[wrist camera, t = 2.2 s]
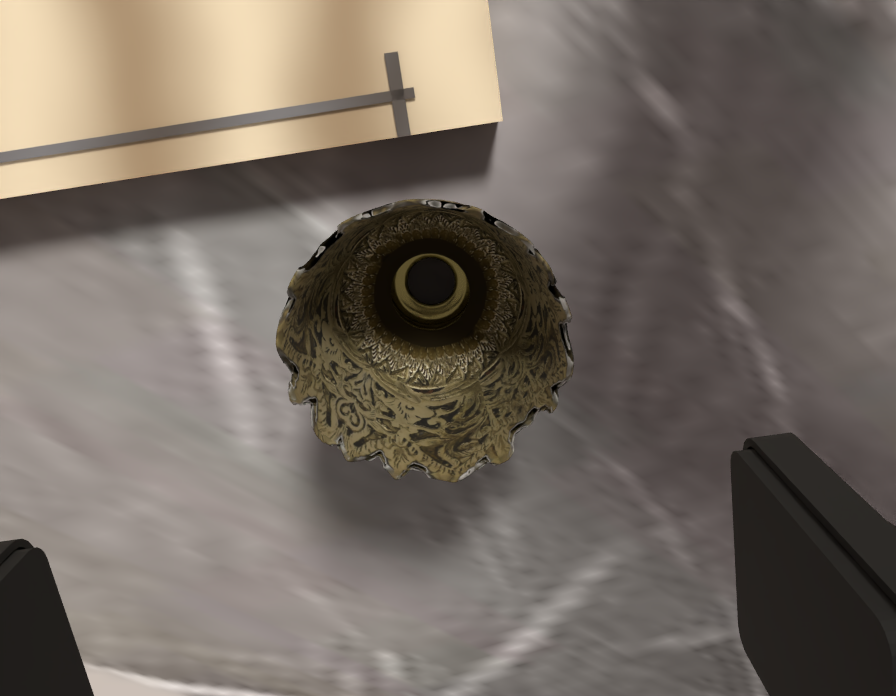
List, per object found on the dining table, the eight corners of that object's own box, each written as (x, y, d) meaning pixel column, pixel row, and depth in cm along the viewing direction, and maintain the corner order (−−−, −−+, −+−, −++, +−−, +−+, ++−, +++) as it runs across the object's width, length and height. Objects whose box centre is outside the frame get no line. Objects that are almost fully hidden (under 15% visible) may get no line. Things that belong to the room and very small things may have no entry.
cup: (431, 421, 29) (426, 537, 21) (279, 282, 27) (215, 353, 20) (582, 280, 27) (635, 350, 20) (430, 123, 26) (424, 134, 18)
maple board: (463, -160, 23) (465, -184, 21) (498, 119, 26) (502, 121, 24) (-184, -50, 24) (-242, -63, 22) (-92, 210, 27) (-136, 219, 25)
